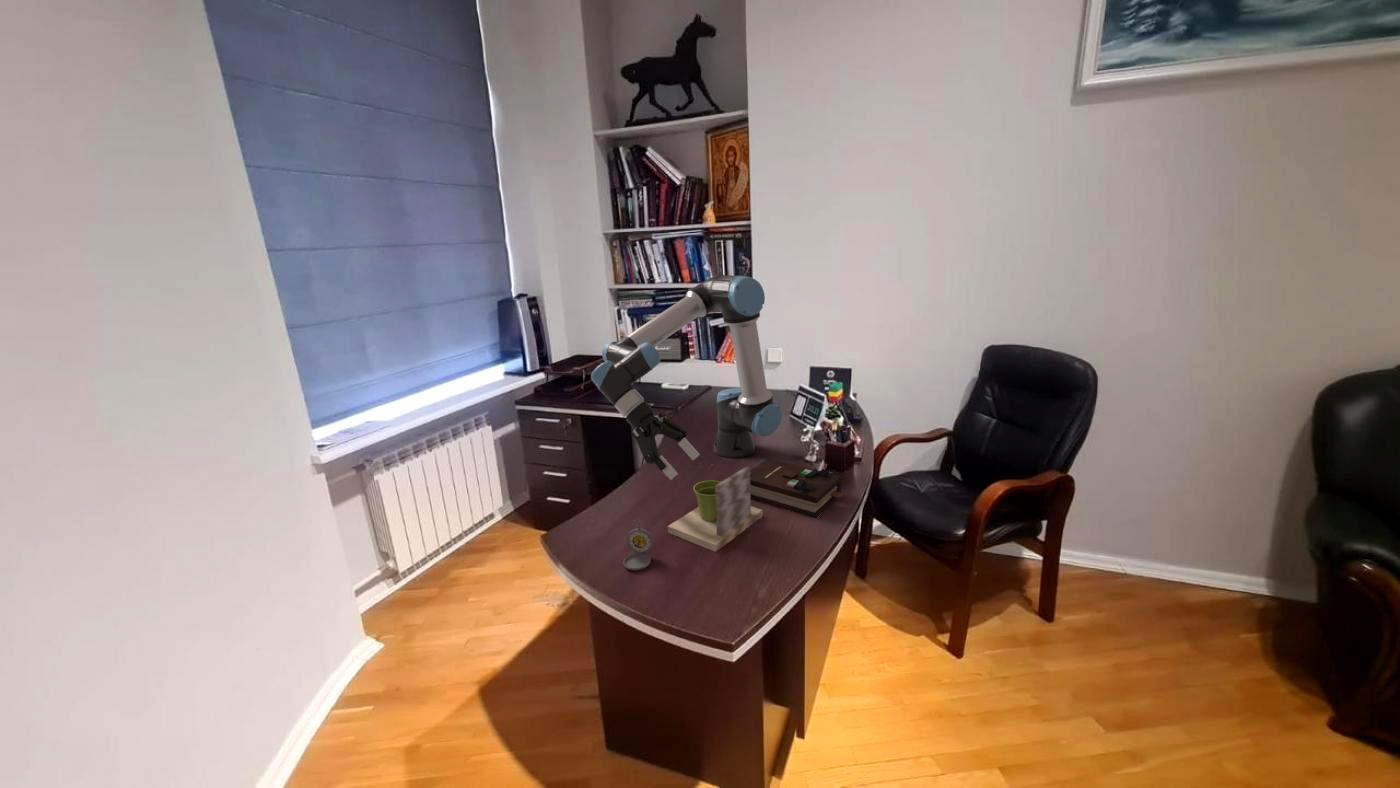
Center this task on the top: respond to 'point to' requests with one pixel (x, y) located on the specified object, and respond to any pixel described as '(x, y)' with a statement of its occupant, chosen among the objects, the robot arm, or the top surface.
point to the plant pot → (706, 499)
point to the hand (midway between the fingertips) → (686, 467)
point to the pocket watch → (638, 548)
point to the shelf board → (721, 515)
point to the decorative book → (794, 487)
